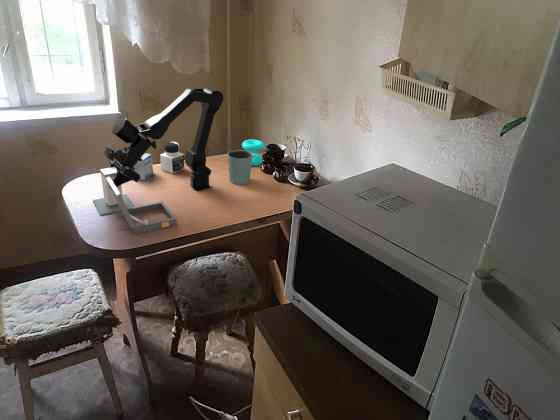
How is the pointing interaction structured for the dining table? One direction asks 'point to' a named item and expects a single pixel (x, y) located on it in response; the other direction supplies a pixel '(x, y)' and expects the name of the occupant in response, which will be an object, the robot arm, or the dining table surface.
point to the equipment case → (142, 209)
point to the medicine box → (144, 166)
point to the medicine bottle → (172, 158)
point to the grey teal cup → (239, 166)
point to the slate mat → (106, 209)
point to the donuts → (254, 150)
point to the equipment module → (107, 191)
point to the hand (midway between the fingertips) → (107, 185)
